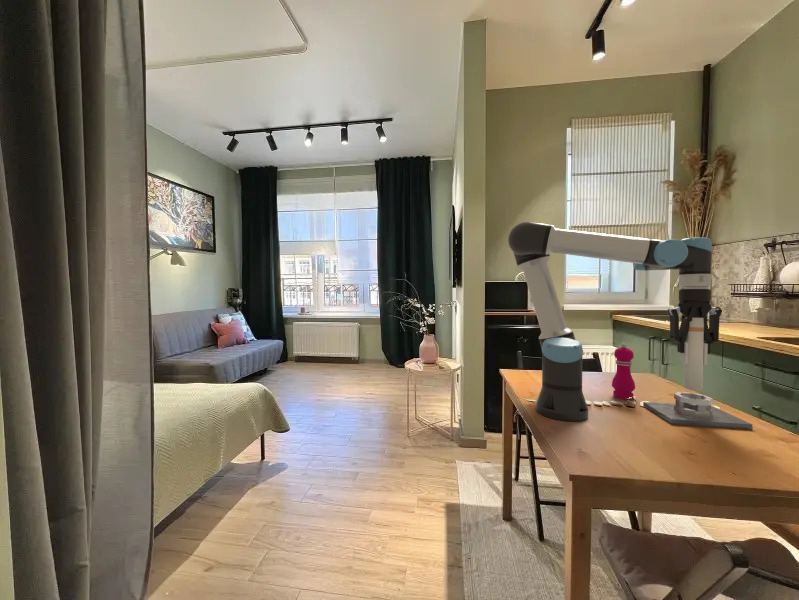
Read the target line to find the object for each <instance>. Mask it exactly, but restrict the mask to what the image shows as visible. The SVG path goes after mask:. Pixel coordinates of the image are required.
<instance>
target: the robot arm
mask: <svg viewBox="0 0 799 600" xmlns="http://www.w3.org/2000/svg"><path fill="white" fill-rule="evenodd" d="M507 243H508V247H509V248H510V249H511V251H512V252H513V257H514V259H515V262H516V266H517V268H519V269H521V270H522V271H523V275H524V277H525V281H526V284H527V287H528V288H527V289H528V291H529V294H530V299H531V302H532V305H533V308H534V311H535V315H536V318H537V322H538V325H539V329H540V335H539V336H538V340H539V344H540V348H541V353H542V355H541V356H542V358H541V366H542V367H541V381H542V382H541V389H540V392H539V394H538V397H537V400H536V403H535V407H536V408H535V411H536V412H537V413H539V414H540V415H542V416H544V417H547V418H550V419H554V420H559V421H564V422H565V421H566V422H581V421H585V420H587V419H589V407H588V405H587V401H586V398H585V395H584V392H583V355H584V349H583V344H582V343H581V342H580V341H578V340H576V337H575V333H574V330H573V329H571V328H569V327H567V323H566V320H565V316H564V314H563V310H562V307H561V304H560V301H559V298H558V293H557V291H556V287H555V283H554V280H553V277H552V274H551V271H550V267H549V263H548V262H549V260H550V258H551V255H550V253H551V254H554V253H555V254H562V255H568V256H569V255H570V256H576V257H583V258H592V259H601V260H609V261H614V262H615V261H616V262H621V263H631V264H632V266H633V270H636V271H644V272H648V271H662V270H663V271H666V270H669V271H670V270H675V271H676V270H678V287H679V288H680V289H679V290H678V302H679V303H678V304H677V306H676V307H673V308H668V309H667V312H668V315H669V339H670V340H673V341H675V342H676V343H677V347H676V349H677V351H676V352H677V353H679V363H680V364H683V365H684V364H688V350H689V343H685V342H686V338H687V335H688V331H689V327H690V321H692V318H704V344H703V366H707V365H708V354H709V355H710V353H711V345H712V344H714V342H718V341H719V340H720V317H721V314H722V312H723V310H722V309H720V308H715V307H712V304H711V300H712V290H711V289H710V288H711V287H712V263H713V262H712V260H713V244H712V240H711V239H710V238H709V237H704V236H703V237H702V236H701V237H700V236H699V237H697V236H695V237H687V238H682V239H681V240H680V239H676V238H667V239H664V240H663V239H656V238H651V239H650V238H645V237H635V236H627V235H618V234H610V233H609V234H608V233H607V234H606V233H599V232H588V231H579V230H572V229H571V230H570V229H563V228H562V229H561V228H556V227H555V226H554V225H553V224H546V223H538V222H534V221H533V222H532V221H523V222H520V223H518V224H516V225H515V226H514V227H512V229H511V230H510V232H509V234H508V238H507ZM680 313H681V318H680V315H679V314H680ZM708 314H709V319H708ZM685 317H687V318H685ZM680 320H681V323H680Z"/></svg>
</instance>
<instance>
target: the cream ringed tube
mask: <svg viewBox="0 0 799 600" xmlns="http://www.w3.org/2000/svg"><path fill="white" fill-rule="evenodd" d="M685 318H687V317H685ZM685 343H689V350H688V364H683V388H685V389H687V390H693V391H703V389H704V384H703V383H704V365H703V344H704V318H692V321H690V327H689V331H688V335H687V338H686V342H685Z"/></svg>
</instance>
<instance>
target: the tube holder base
mask: <svg viewBox="0 0 799 600" xmlns="http://www.w3.org/2000/svg"><path fill="white" fill-rule="evenodd" d="M673 398H674V400H675V403H670V402H669V403H668V402H650V401H643V402H642V403H643V408H645V409H646V410H648V411H650V412H652V413H654V414H655V415H656V416H657V417H659V418H661V419H663V420H664V421H666V422H667V423H668V424H671V425H676V426H691V427H692V426H693V427H694V426H695V427H708V428H721V429H724V428H725V429H737V430H750V429H752V430H753V424H752V423H750V422H749V421H747V420H744V419H741V418H740V417H737V416H735V415H733V414H732V413H729V412H727V411H724V410H722V409H721V408H720V409H719V408H717V407H716V406H713V404H714V403H713V402H714V399H713V398H712V397H710V396H709V395H708V396H707V395H705V394H700V393H695V392H688V391H687V392H685V391H677V392H675V393H674V394H673Z"/></svg>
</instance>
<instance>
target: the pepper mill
mask: <svg viewBox="0 0 799 600" xmlns="http://www.w3.org/2000/svg"><path fill="white" fill-rule="evenodd" d="M620 346H621V347H618V348H616V349H615V350H614V352H613V354H614V358H615V365H616V372H615V374H614V376H613V378H612V381H611V386H612V388H613V389H614V390H613V392H612V393H613V394H612V395H613V397H614V398H616V399H620V400H626V399H625V398H629V397H632V398H633V399H634V396H635V395H634V392H633V391H635V389H636V383H635V380H634V378H633V376H632V372H631V367H632V365H633V364H632V363H633V361H632V360H633V359H634V352H633V350H632V349H630V348H628V346H627V343H621V344H620Z"/></svg>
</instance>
